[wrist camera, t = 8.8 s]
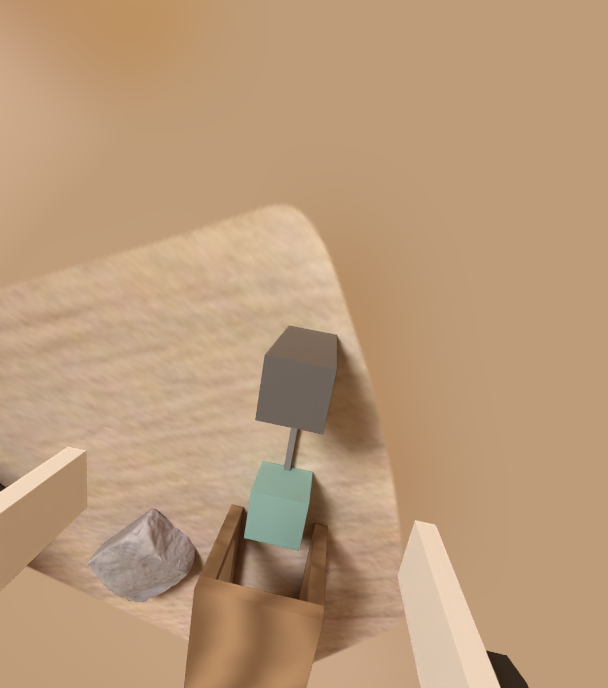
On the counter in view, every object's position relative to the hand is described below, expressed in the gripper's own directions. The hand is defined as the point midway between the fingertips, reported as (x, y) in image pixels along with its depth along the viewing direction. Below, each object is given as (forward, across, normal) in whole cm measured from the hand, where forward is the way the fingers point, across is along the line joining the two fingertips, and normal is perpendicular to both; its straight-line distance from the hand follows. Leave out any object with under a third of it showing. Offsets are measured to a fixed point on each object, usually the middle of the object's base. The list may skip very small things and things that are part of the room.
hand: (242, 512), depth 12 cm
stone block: (+22, -15, -30) cm, 40 cm away
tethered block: (+21, +1, -8) cm, 22 cm away
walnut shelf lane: (+21, +1, -28) cm, 35 cm away
